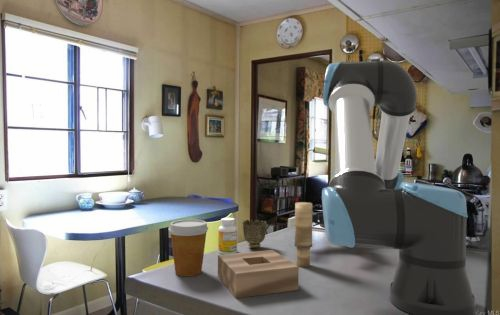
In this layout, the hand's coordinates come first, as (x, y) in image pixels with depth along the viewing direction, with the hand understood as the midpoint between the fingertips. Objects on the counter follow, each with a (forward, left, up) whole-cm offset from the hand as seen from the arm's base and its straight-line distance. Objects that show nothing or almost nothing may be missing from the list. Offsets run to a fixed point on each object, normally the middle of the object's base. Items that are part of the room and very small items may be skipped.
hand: (311, 226), depth 104 cm
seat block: (-12, +21, -9) cm, 26 cm away
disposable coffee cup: (0, +34, -9) cm, 35 cm away
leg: (-4, +5, -9) cm, 11 cm away
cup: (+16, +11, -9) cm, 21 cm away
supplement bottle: (+14, +20, -9) cm, 26 cm away
